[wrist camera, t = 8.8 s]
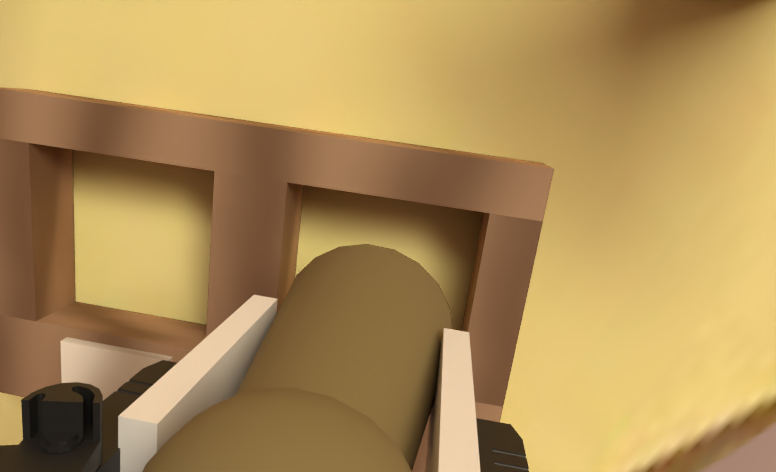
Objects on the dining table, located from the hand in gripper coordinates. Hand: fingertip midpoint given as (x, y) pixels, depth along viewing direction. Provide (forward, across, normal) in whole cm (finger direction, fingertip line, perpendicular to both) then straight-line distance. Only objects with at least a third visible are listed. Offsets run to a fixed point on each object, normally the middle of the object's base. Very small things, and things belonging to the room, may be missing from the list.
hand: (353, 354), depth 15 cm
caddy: (+8, -6, -1) cm, 10 cm away
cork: (+2, 0, 0) cm, 2 cm away
